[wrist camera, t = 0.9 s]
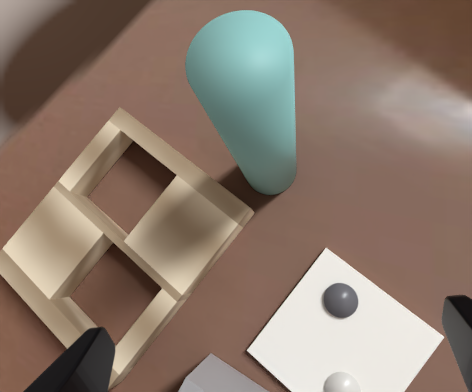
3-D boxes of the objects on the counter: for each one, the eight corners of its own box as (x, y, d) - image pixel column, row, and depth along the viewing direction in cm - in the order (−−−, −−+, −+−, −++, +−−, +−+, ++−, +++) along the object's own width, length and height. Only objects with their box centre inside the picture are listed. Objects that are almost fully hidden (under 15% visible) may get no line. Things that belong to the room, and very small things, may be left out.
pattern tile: (357, 449, 19) (359, 455, 19) (247, 349, 21) (246, 351, 21) (441, 335, 20) (445, 337, 19) (325, 248, 22) (326, 247, 21)
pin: (274, 205, 23) (246, 130, 10) (235, 175, 24) (164, 73, 11) (306, 164, 23) (316, 42, 10) (266, 136, 24) (230, -7, 11)
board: (122, 381, 22) (105, 391, 20) (13, 263, 25) (-10, 263, 24) (254, 213, 23) (250, 208, 21) (132, 118, 26) (119, 106, 24)
